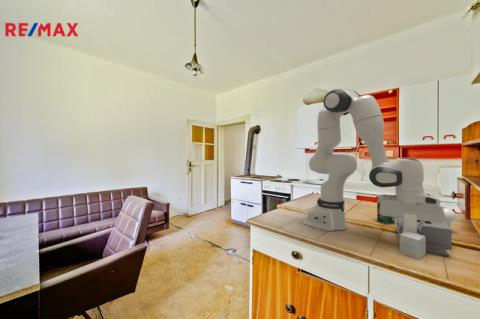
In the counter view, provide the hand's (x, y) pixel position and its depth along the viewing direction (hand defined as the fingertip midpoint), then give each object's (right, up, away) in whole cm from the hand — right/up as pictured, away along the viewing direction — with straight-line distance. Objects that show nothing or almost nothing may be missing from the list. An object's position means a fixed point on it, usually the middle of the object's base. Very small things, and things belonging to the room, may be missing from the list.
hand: (409, 228), depth 80 cm
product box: (-4, -8, -6) cm, 10 cm away
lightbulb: (+28, -6, +12) cm, 31 cm away
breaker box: (+11, -6, +6) cm, 14 cm away
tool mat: (+5, -7, -5) cm, 10 cm away
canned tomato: (+10, -6, +26) cm, 29 cm away
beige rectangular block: (0, -7, 0) cm, 7 cm away
